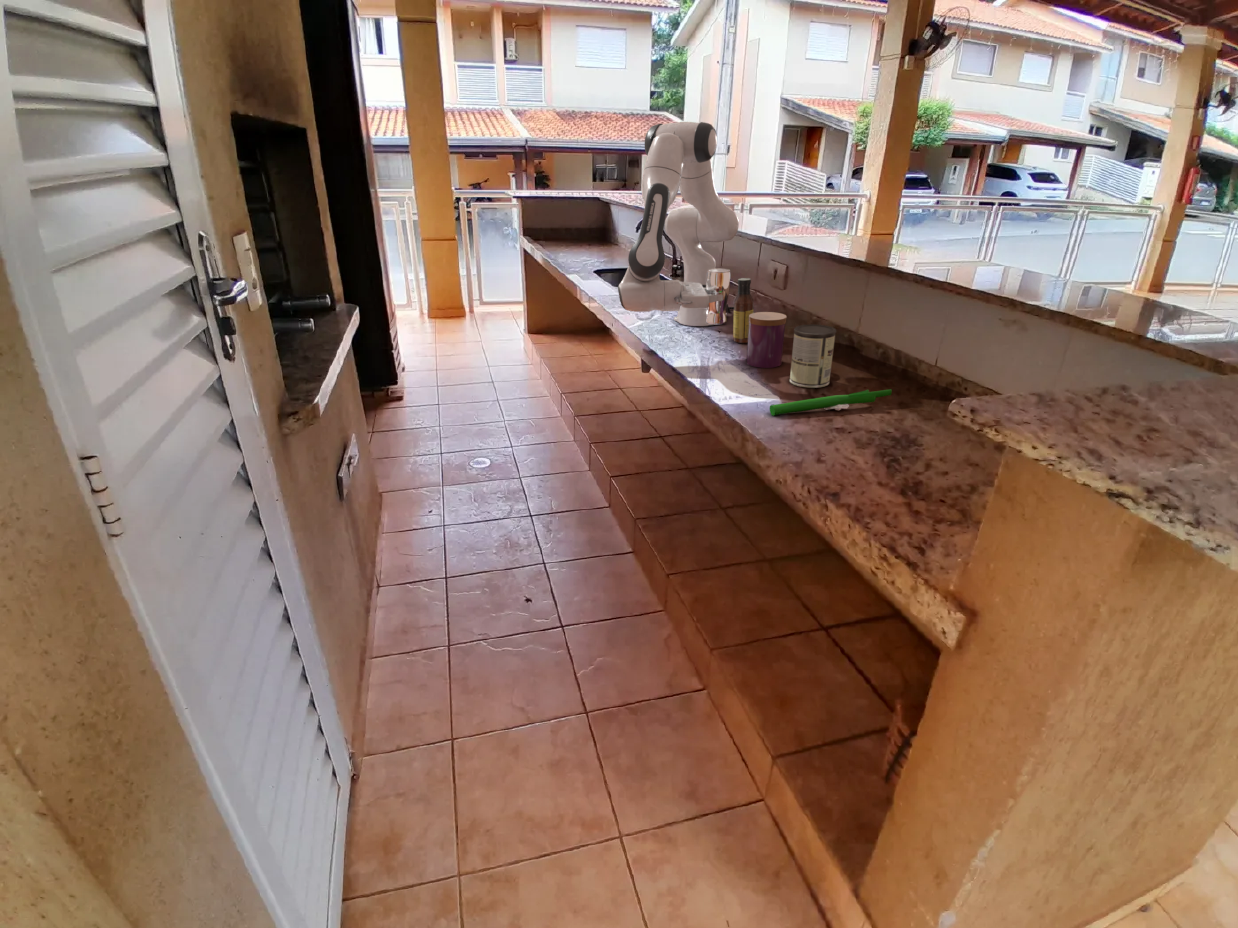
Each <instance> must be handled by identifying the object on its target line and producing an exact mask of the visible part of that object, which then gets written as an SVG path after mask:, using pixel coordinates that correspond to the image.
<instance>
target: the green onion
mask: <svg viewBox="0 0 1238 928" xmlns="http://www.w3.org/2000/svg"><path fill="white" fill-rule="evenodd" d="M887 396H892V388H891V389H883V390H875V391H870V390H869V388H868V389H865V390H861V391H857V392H852V393H849V394H838V395H830V396H822V397H816V398H809V399H803V400H802V399H801V400H796V401H790V402H785V403H778V404H771V405H769V413H770V415H771V416H780V415H785V414H792V413H801V412H808V411H814V410H820V409H821V410H822V409H824V410H825V411H830V410H835V411H836V412H837V411H841V410H842V409H849V408H850V405H852V404H855V405H856V404H867V403H874V402H875V401H876V398H883V397H887Z"/></svg>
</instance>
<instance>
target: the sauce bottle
mask: <svg viewBox="0 0 1238 928" xmlns="http://www.w3.org/2000/svg"><path fill="white" fill-rule="evenodd" d="M751 284H752V279H751V278H750V277H741V278H738V279H737V295H736V296H735V297H734V300H733V307H734V309H733V323H732V324H733V326H732V327H733V330H732V331H733V332H732V333H733V334H732V336H733V342H735V343H737V344H748V331H749V321H748V320H749V315H750V314H752V313H754V298H753V296H752V294H751Z"/></svg>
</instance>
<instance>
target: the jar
mask: <svg viewBox="0 0 1238 928" xmlns="http://www.w3.org/2000/svg"><path fill="white" fill-rule="evenodd" d="M748 321H749V331H748V343H747V347H746V361H745V362H746V364H747V365H748V366H751V367H755V368H760V369H772V368H776V367H777V368H778V367H780V366H781V365H782V362H783V353H784V352H783V350H784V341H785V331H786V323H787V315H786V314H785V313H781V312H774V311H758V312H753V313H752V314H750V315H749V320H748Z"/></svg>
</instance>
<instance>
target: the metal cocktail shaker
mask: <svg viewBox="0 0 1238 928" xmlns="http://www.w3.org/2000/svg"><path fill="white" fill-rule="evenodd" d="M730 291H731V270H730V269H729V268H723V267H721V268H720V267H718V268H717V267H716V268H715V269H709V270H707V279H706V292H707V294H711V295H715V294H722V295H723V300H722V301H716V302H712V303H709V307H708V314H707V318H706V322H707V323H709V324H717V325H723V324H726V323H727V322H728V321H727V312H726V305H727V304H728V300H729V297H730Z"/></svg>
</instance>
